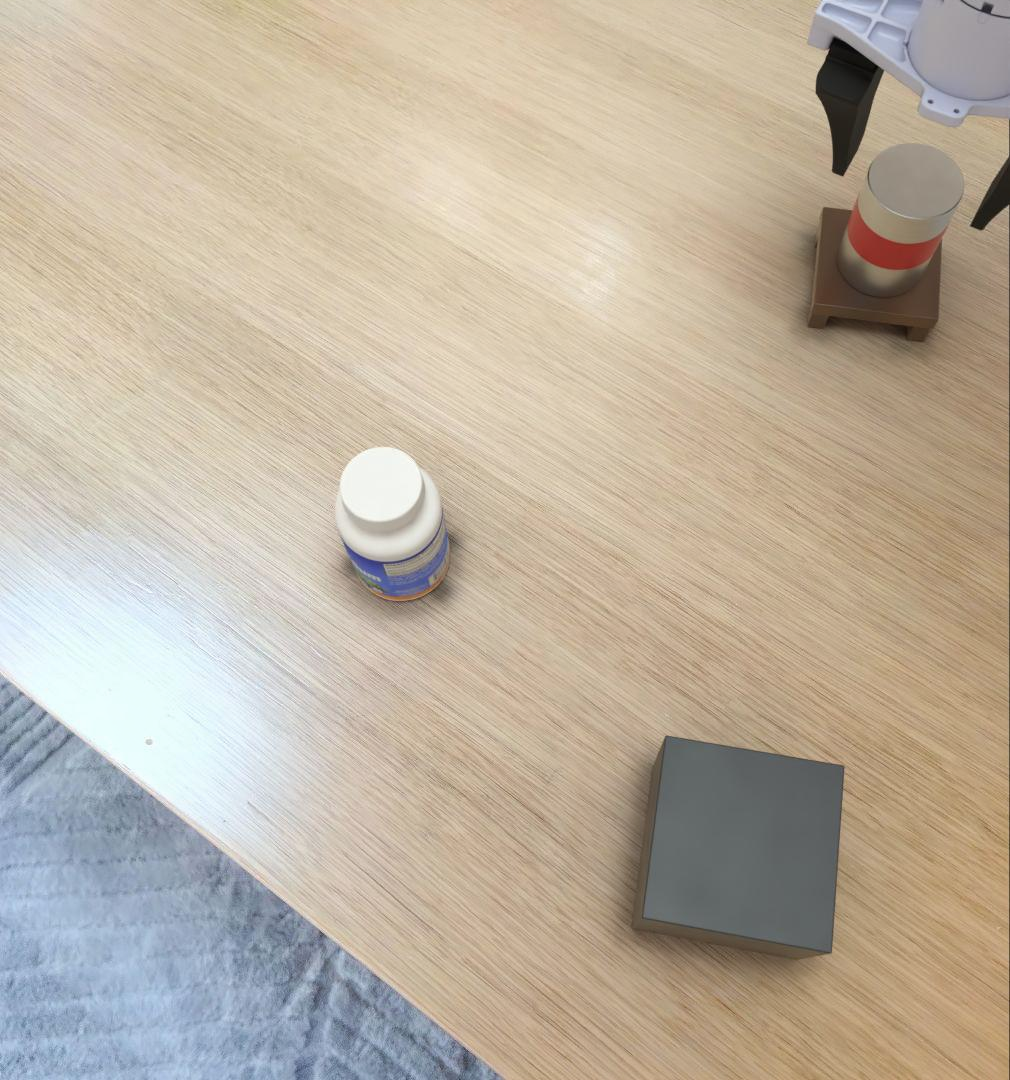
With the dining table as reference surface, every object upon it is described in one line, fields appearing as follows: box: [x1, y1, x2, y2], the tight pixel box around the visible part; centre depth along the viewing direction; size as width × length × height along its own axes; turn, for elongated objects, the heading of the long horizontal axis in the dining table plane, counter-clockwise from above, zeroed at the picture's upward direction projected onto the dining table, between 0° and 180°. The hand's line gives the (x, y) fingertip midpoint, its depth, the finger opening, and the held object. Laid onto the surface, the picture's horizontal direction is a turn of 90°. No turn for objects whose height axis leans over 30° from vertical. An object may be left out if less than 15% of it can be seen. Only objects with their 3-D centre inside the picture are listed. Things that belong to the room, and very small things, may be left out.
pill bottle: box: [333, 446, 451, 602], centre depth 58 cm, size 5×5×10 cm
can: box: [837, 142, 965, 297], centre depth 62 cm, size 5×5×7 cm
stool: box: [806, 206, 943, 343], centre depth 66 cm, size 7×7×2 cm
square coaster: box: [630, 735, 846, 961], centre depth 52 cm, size 8×8×7 cm
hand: (912, 187), depth 59 cm, fingers open, 7 cm apart
